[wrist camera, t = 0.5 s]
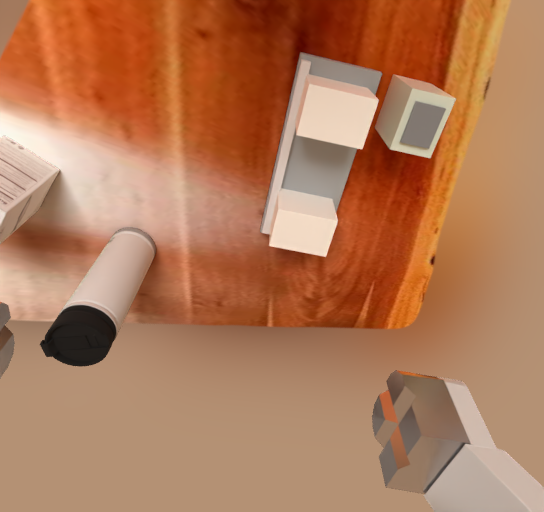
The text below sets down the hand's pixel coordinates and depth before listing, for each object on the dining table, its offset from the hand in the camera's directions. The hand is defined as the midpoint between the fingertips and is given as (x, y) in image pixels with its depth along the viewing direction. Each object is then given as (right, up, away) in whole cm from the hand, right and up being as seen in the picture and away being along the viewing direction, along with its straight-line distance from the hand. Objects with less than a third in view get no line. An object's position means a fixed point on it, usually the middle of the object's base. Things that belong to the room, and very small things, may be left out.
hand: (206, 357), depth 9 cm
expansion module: (+16, +19, +39) cm, 46 cm away
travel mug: (-18, +4, +50) cm, 53 cm away
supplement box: (-30, +13, +44) cm, 55 cm away
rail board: (+7, +14, +42) cm, 45 cm away
